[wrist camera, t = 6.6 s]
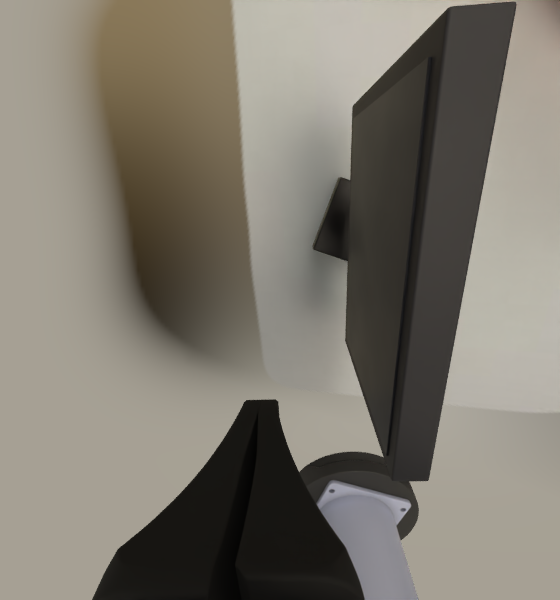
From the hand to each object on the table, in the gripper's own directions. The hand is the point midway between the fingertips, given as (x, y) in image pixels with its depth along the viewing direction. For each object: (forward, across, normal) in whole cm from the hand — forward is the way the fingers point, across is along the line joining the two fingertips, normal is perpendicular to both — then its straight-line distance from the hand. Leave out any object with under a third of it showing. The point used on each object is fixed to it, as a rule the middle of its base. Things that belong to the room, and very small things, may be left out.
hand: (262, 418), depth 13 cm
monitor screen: (+6, -5, -6) cm, 10 cm away
